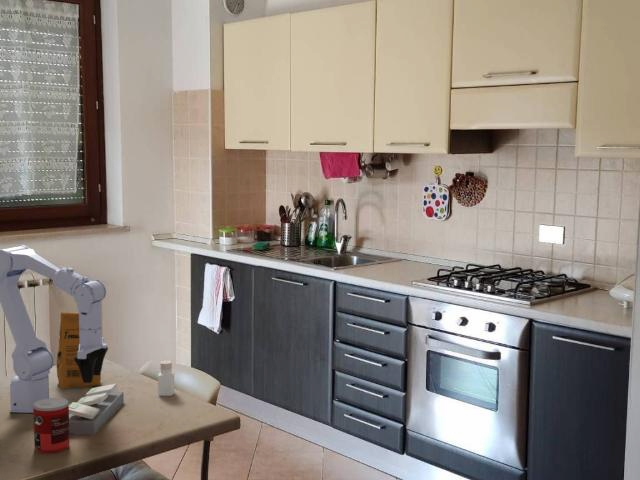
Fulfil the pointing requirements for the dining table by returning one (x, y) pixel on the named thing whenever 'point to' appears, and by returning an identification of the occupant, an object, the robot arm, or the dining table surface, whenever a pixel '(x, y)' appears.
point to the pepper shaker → (166, 379)
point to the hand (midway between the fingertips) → (92, 378)
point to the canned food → (51, 425)
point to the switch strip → (97, 422)
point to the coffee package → (70, 354)
